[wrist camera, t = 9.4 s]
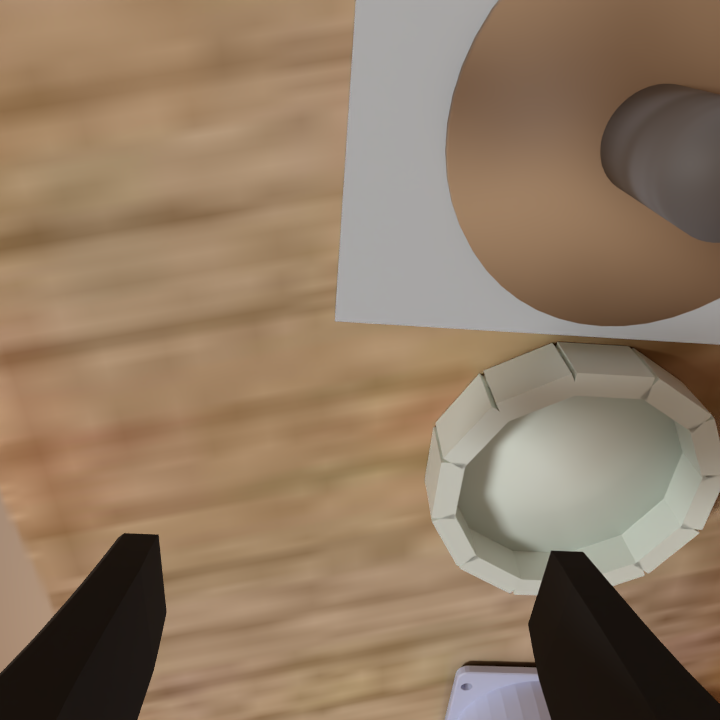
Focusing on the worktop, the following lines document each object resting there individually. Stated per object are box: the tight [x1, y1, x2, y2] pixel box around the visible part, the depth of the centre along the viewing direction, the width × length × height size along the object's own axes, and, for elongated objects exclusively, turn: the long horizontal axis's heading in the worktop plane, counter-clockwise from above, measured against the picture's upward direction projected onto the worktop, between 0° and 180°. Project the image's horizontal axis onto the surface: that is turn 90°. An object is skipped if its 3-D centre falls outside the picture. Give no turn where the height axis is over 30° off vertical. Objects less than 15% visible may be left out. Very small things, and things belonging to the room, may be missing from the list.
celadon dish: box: [425, 342, 720, 595], centre depth 22 cm, size 10×10×2 cm
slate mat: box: [335, 0, 720, 345], centre depth 17 cm, size 12×16×1 cm
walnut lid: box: [445, 0, 720, 326], centre depth 15 cm, size 11×11×5 cm
